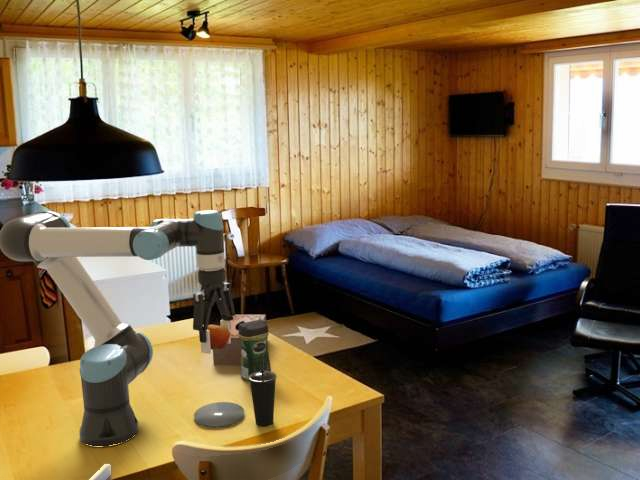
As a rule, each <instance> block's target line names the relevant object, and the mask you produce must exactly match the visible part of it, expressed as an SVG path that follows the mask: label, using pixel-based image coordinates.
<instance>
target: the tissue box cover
mask: <svg viewBox="0 0 640 480" xmlns="http://www.w3.org/2000/svg"><path fill="white" fill-rule="evenodd" d="M232 317H234V319H233V320H230V327H231V329H230V333H231V335H230V338H231V343H230V344H226V346H225V347H224V348H223V349H219V350H217V353H216V351H215V350H212V358H213V359H212V360H213V362H212V363H213V365H214V366H217V365H218V366H229V365H230V366H241V340H240V338H239V335H238V330H239V324H240V323H246V322H250V321H255V320H259V319H262V320H264V321H266V322H267V315H266V314H235V316H232Z"/></svg>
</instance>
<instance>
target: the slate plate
mask: <svg viewBox="0 0 640 480" xmlns="http://www.w3.org/2000/svg"><path fill="white" fill-rule="evenodd" d="M244 417H245V409H244V407H243V406H242V405H240V404H238V403H236V402H230V401H221V402H220V401H217V402H212V403H208V404H205V405H203V406H201V407H198V408H197V409H196V410H195V412H194V414H193V418H194V420H193V421H194V422H195V423H196V424H197V425H198V426H199V427H202V428H208V429H221V428H222V429H223V428H227V427H230V426H235V425H236V424H238V423H240V422H241V421H242V420H243V419H244Z"/></svg>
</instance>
